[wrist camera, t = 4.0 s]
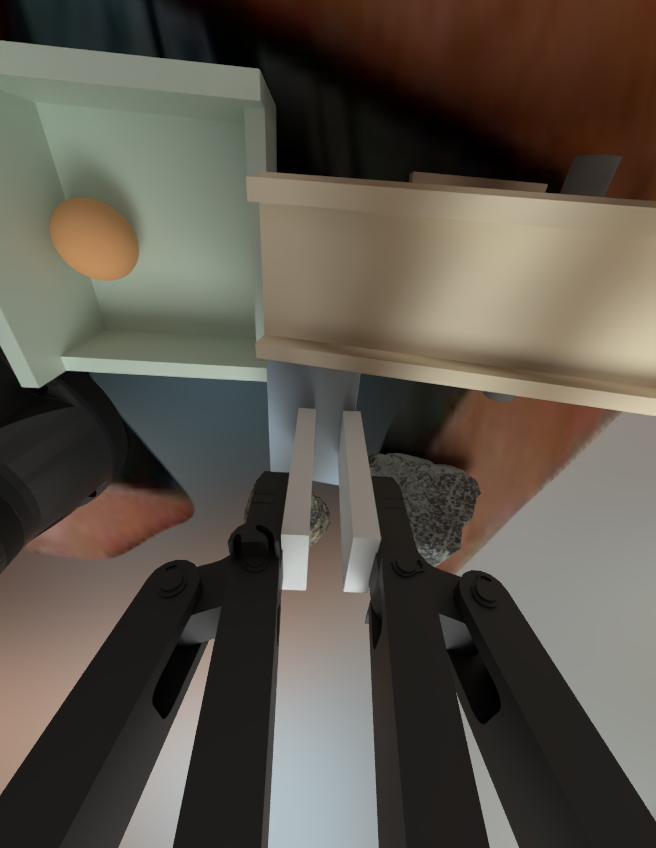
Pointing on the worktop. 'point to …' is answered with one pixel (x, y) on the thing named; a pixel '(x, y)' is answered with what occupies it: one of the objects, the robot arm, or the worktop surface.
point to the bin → (133, 212)
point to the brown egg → (94, 238)
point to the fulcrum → (475, 182)
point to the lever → (452, 295)
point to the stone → (431, 501)
